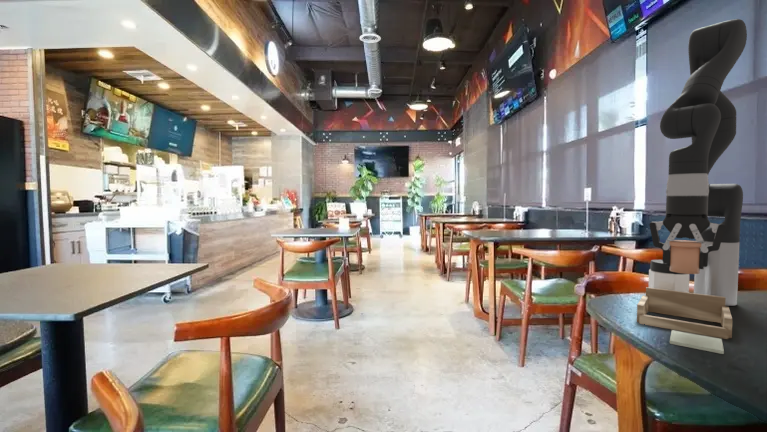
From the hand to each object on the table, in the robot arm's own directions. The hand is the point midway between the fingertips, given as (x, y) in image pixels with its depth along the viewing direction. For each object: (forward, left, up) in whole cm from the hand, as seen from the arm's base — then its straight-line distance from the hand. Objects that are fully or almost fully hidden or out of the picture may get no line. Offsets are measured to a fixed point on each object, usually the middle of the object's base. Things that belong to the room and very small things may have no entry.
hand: (684, 266), depth 87 cm
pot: (0, 0, -1) cm, 1 cm away
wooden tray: (0, 0, -13) cm, 13 cm away
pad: (+14, +2, -13) cm, 19 cm away
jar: (-16, -4, -13) cm, 21 cm away
